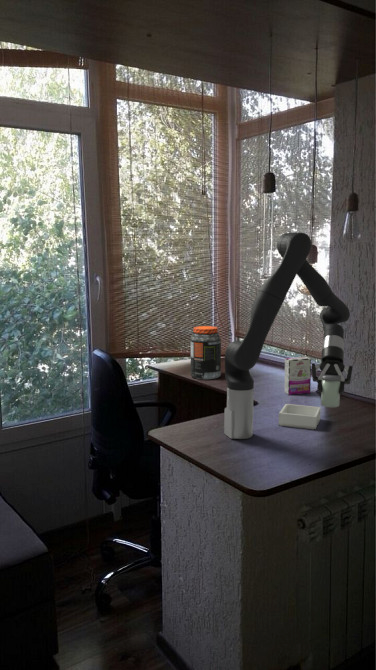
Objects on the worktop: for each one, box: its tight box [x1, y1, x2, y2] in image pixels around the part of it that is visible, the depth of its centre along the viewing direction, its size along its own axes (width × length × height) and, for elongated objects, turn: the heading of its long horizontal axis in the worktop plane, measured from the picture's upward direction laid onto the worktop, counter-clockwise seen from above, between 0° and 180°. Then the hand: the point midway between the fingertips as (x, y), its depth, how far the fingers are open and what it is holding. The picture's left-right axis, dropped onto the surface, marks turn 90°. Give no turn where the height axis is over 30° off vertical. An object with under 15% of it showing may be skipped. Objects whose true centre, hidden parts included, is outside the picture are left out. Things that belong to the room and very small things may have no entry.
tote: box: [278, 403, 322, 431], centre depth 208 cm, size 14×14×5 cm
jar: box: [320, 374, 341, 408], centre depth 185 cm, size 6×6×10 cm
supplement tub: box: [189, 325, 222, 380], centre depth 283 cm, size 16×16×26 cm
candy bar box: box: [284, 356, 312, 396], centre depth 251 cm, size 11×5×16 cm, turn 105°
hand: (330, 392), depth 183 cm, fingers closed on jar, 6 cm apart
